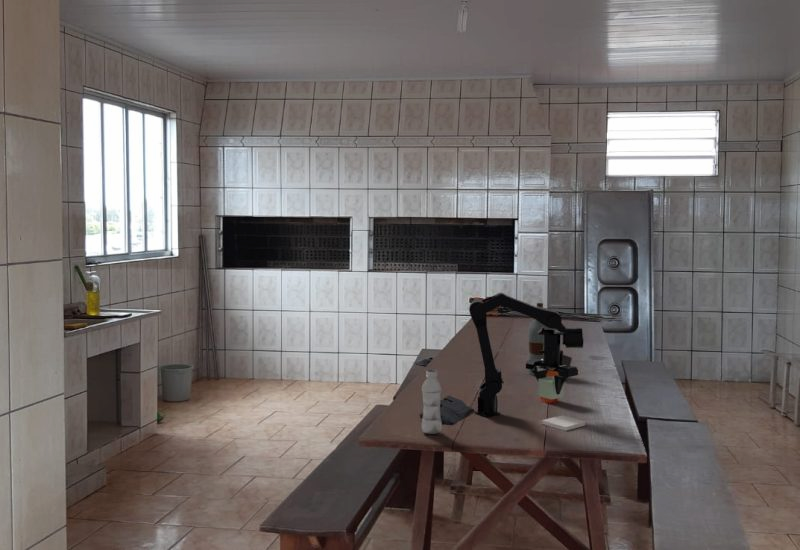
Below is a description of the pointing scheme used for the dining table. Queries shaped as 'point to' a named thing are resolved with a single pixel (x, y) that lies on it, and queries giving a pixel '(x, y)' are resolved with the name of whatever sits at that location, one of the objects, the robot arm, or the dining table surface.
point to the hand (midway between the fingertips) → (550, 392)
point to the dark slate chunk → (452, 410)
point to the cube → (548, 388)
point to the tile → (563, 422)
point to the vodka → (535, 340)
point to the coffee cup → (552, 374)
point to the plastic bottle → (431, 403)
